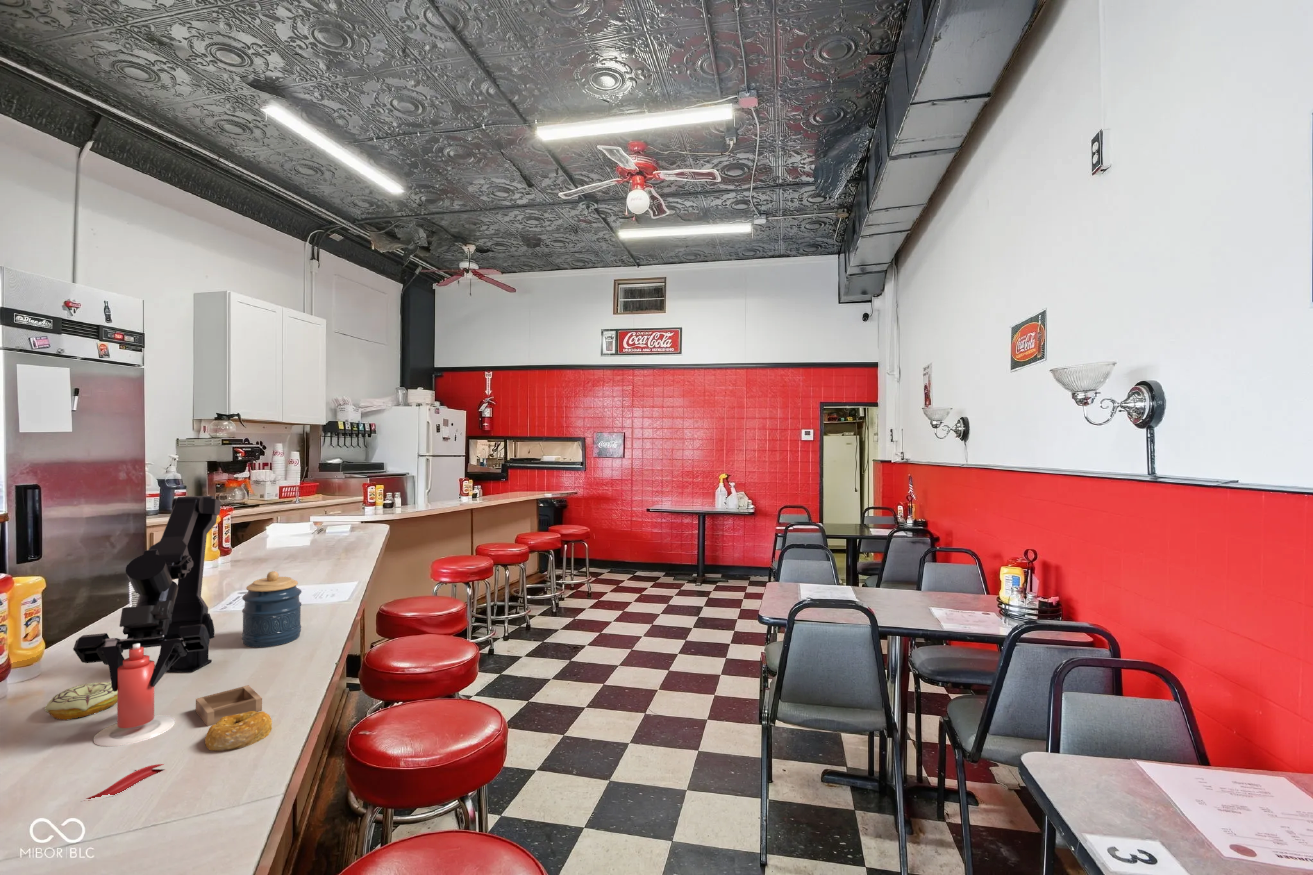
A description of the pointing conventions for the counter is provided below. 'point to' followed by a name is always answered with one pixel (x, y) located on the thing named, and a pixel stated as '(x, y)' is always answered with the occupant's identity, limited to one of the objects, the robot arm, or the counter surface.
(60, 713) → the decorated donut
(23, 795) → the counter surface
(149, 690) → the ketchup bottle
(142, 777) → the cayenne pepper
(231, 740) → the bagel
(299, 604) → the canister
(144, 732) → the saucer
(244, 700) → the tray
